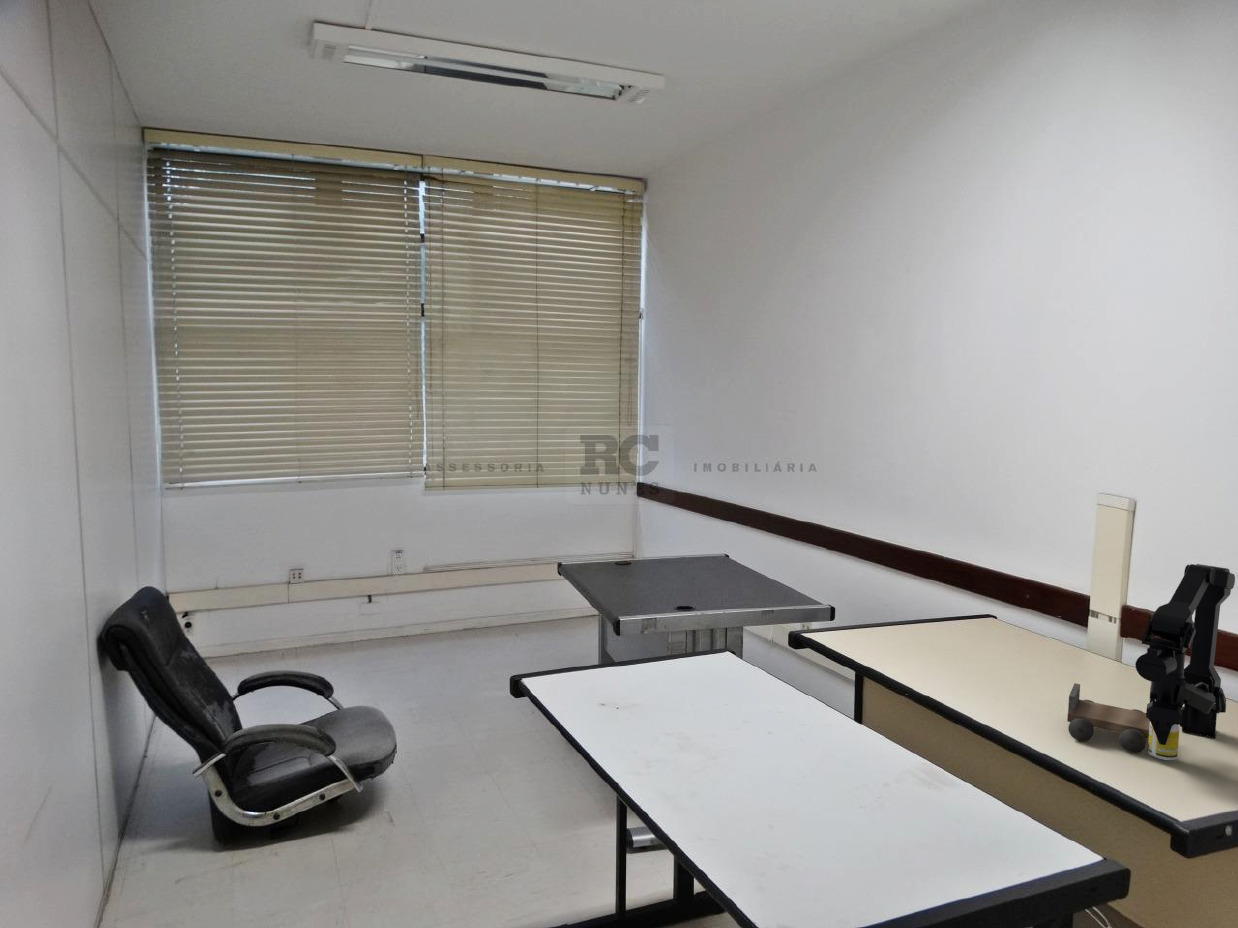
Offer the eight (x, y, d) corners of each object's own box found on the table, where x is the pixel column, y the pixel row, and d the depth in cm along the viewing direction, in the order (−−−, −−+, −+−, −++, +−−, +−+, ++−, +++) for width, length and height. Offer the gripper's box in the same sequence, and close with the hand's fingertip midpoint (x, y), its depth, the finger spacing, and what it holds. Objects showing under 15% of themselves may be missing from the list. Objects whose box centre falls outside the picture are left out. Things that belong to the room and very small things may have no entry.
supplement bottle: (1183, 759, 174) (1186, 715, 173) (1164, 762, 172) (1166, 718, 171) (1160, 748, 179) (1163, 705, 178) (1141, 751, 178) (1144, 708, 177)
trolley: (1151, 733, 189) (1153, 694, 188) (1147, 756, 177) (1150, 715, 176) (1073, 716, 198) (1075, 680, 197) (1065, 737, 186) (1067, 698, 185)
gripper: (1214, 692, 162) (1208, 766, 163) (1213, 665, 177) (1208, 734, 178) (1148, 680, 168) (1143, 751, 170) (1153, 655, 183) (1148, 721, 185)
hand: (1163, 739), depth 175 cm, fingers closed on supplement bottle, 5 cm apart
